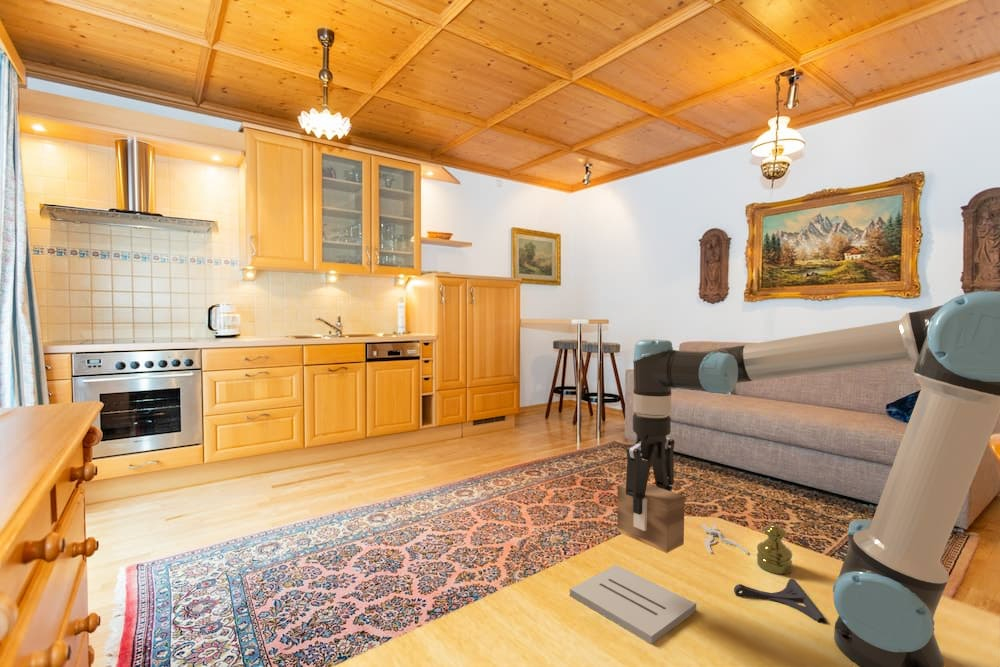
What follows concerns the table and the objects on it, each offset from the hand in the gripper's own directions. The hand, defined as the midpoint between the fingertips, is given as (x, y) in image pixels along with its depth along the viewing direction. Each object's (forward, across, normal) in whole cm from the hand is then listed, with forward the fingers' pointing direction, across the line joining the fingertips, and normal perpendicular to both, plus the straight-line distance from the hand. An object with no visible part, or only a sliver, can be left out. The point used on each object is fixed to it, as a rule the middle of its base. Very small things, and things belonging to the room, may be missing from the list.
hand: (649, 523), depth 101 cm
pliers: (+17, -39, -6) cm, 43 cm away
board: (+17, +3, -2) cm, 17 cm away
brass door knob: (+17, -36, +10) cm, 41 cm away
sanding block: (+3, 0, 0) cm, 3 cm away
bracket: (+18, -22, +15) cm, 32 cm away
